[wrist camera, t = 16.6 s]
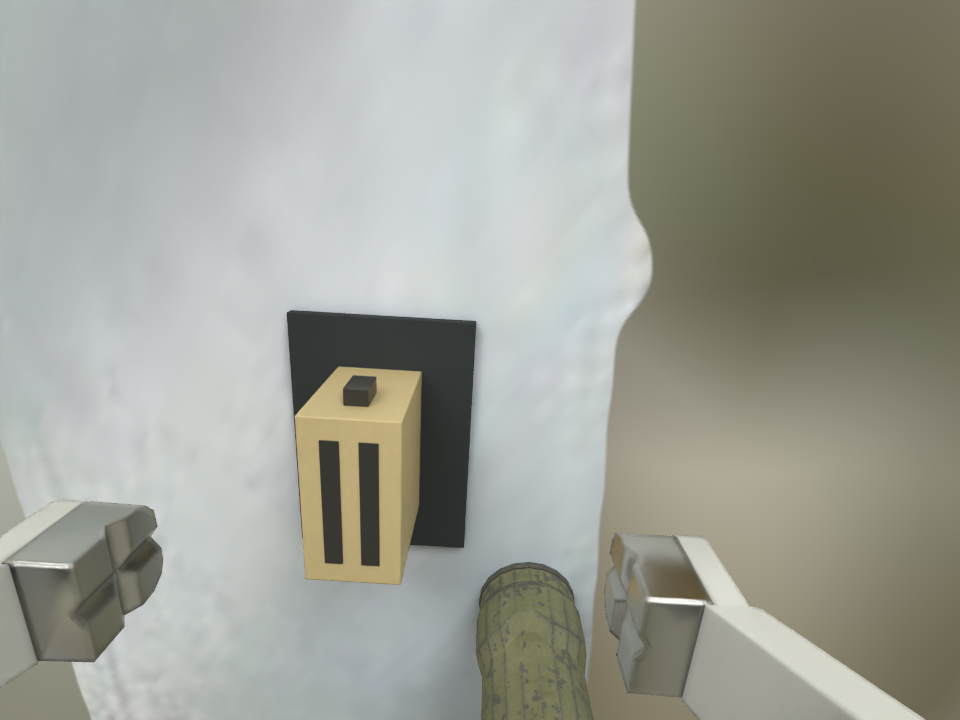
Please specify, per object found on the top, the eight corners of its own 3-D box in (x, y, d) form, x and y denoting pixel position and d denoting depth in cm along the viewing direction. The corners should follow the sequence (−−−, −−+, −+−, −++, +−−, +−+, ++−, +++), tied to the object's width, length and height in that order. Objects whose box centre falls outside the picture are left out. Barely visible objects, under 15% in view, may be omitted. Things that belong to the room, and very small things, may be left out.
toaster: (419, 505, 42) (400, 586, 33) (342, 500, 42) (304, 580, 33) (422, 356, 38) (402, 404, 29) (337, 351, 38) (292, 397, 29)
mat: (290, 310, 37) (286, 312, 37) (476, 321, 37) (475, 323, 37) (305, 532, 44) (302, 538, 43) (463, 541, 44) (463, 548, 43)
